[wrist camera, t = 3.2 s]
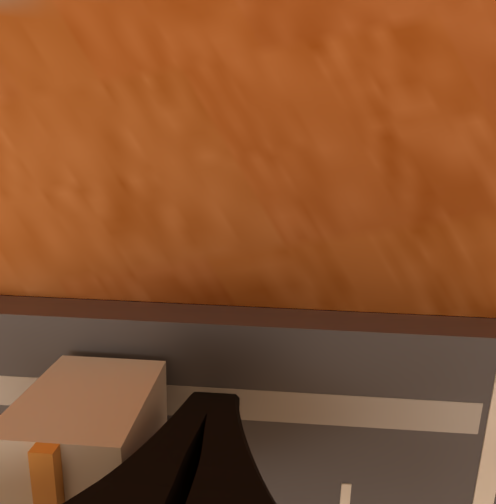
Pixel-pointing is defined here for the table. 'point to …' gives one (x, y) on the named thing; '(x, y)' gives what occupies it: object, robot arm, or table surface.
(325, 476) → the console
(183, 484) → the robot arm
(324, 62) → the table surface
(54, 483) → the fader
